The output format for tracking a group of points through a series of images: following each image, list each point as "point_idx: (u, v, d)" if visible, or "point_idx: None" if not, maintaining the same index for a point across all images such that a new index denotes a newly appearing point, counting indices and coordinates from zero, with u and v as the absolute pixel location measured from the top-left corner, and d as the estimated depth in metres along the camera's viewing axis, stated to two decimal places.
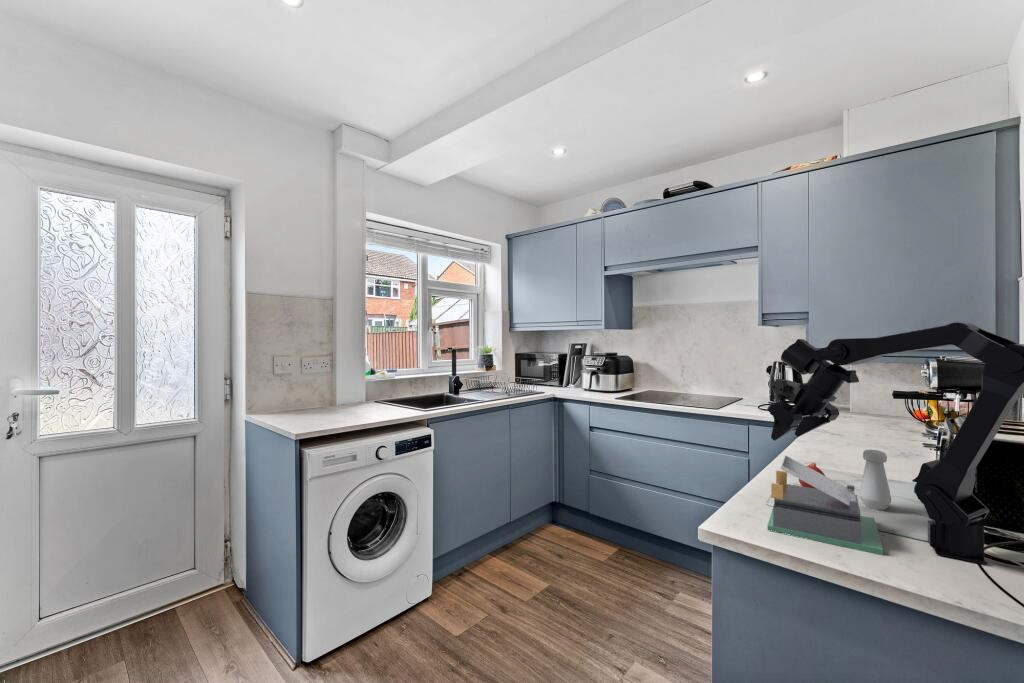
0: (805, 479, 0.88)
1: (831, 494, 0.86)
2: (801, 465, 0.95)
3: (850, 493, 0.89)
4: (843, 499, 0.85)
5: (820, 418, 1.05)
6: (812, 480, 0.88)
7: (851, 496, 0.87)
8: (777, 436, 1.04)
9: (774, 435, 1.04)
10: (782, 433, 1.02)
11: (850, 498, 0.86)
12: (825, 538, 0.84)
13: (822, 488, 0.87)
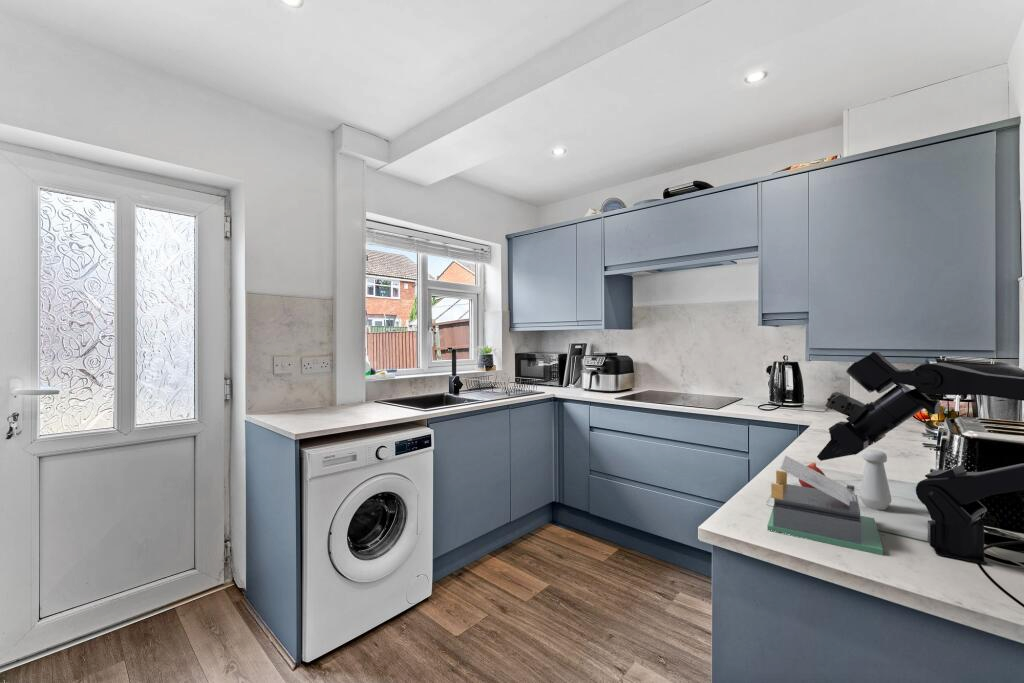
0: (805, 479, 0.88)
1: (831, 494, 0.86)
2: (801, 465, 0.95)
3: (850, 493, 0.89)
4: (843, 499, 0.85)
5: None
6: (812, 480, 0.88)
7: (851, 496, 0.87)
8: (827, 457, 0.91)
9: (823, 455, 0.92)
10: (836, 456, 0.90)
11: (850, 498, 0.86)
12: (825, 538, 0.84)
13: (822, 488, 0.87)
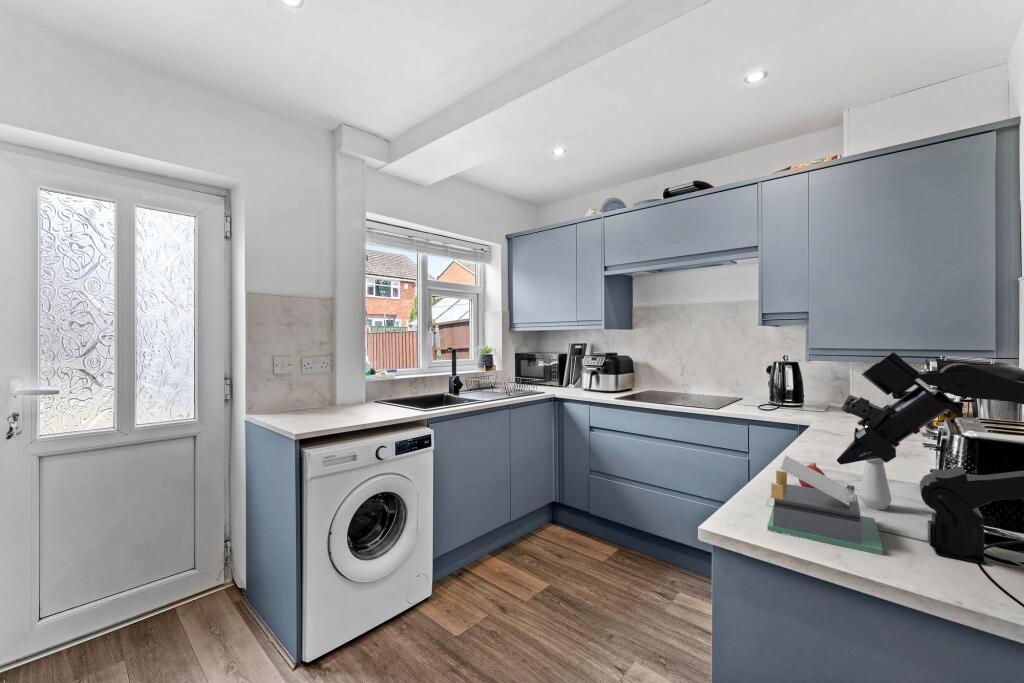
0: (805, 479, 0.88)
1: (831, 494, 0.86)
2: (801, 465, 0.95)
3: (850, 493, 0.89)
4: (843, 499, 0.85)
5: None
6: (812, 480, 0.88)
7: (851, 496, 0.87)
8: (849, 461, 0.88)
9: (844, 459, 0.89)
10: (859, 459, 0.87)
11: (850, 498, 0.86)
12: (825, 538, 0.84)
13: (822, 488, 0.87)
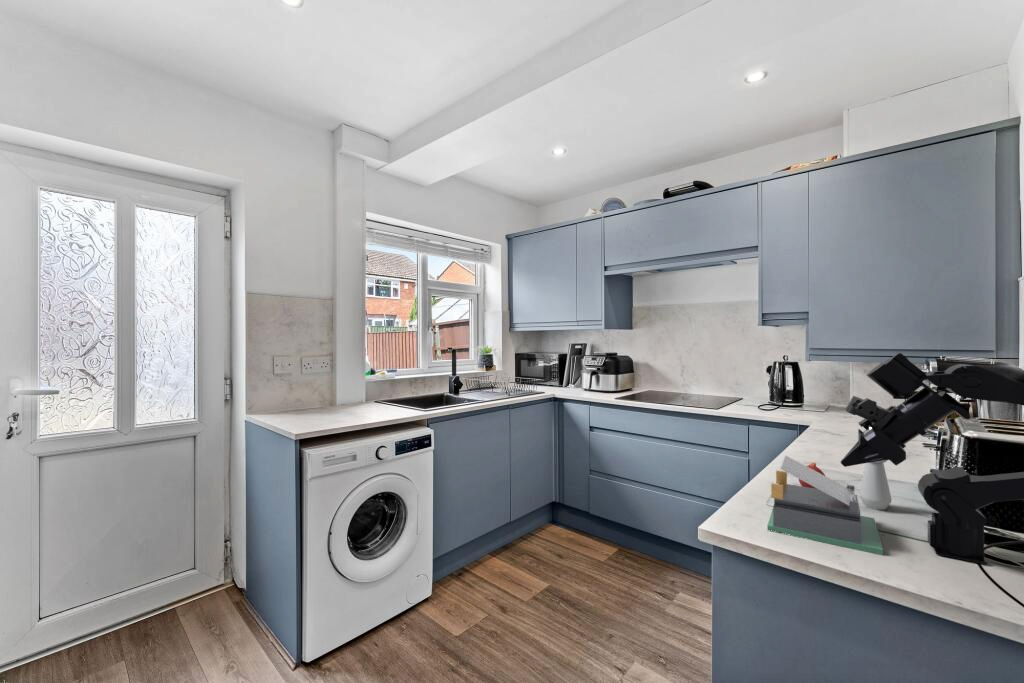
0: (805, 479, 0.88)
1: (831, 494, 0.86)
2: (801, 465, 0.95)
3: (850, 493, 0.89)
4: (843, 499, 0.85)
5: None
6: (812, 480, 0.88)
7: (851, 496, 0.87)
8: (853, 463, 0.87)
9: (848, 461, 0.88)
10: (864, 461, 0.86)
11: (850, 498, 0.86)
12: (825, 538, 0.84)
13: (822, 488, 0.87)
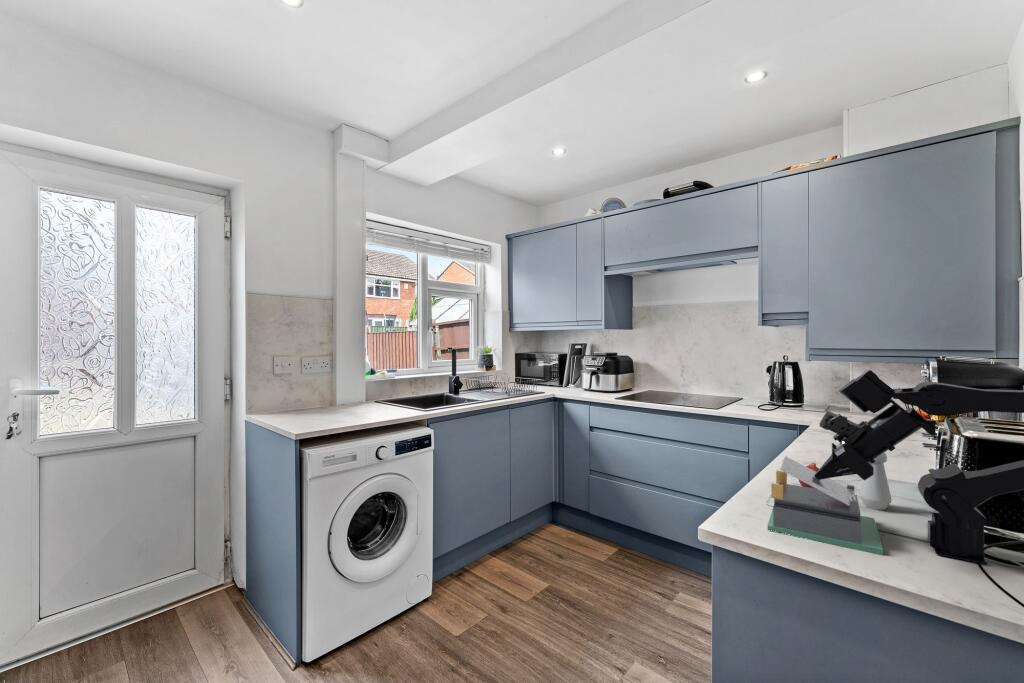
0: (805, 479, 0.88)
1: (831, 494, 0.86)
2: (801, 466, 0.96)
3: (850, 493, 0.89)
4: (843, 499, 0.85)
5: None
6: (812, 480, 0.88)
7: (851, 496, 0.87)
8: (826, 476, 0.90)
9: (821, 474, 0.90)
10: (836, 475, 0.88)
11: (850, 498, 0.86)
12: (825, 538, 0.84)
13: (822, 488, 0.87)
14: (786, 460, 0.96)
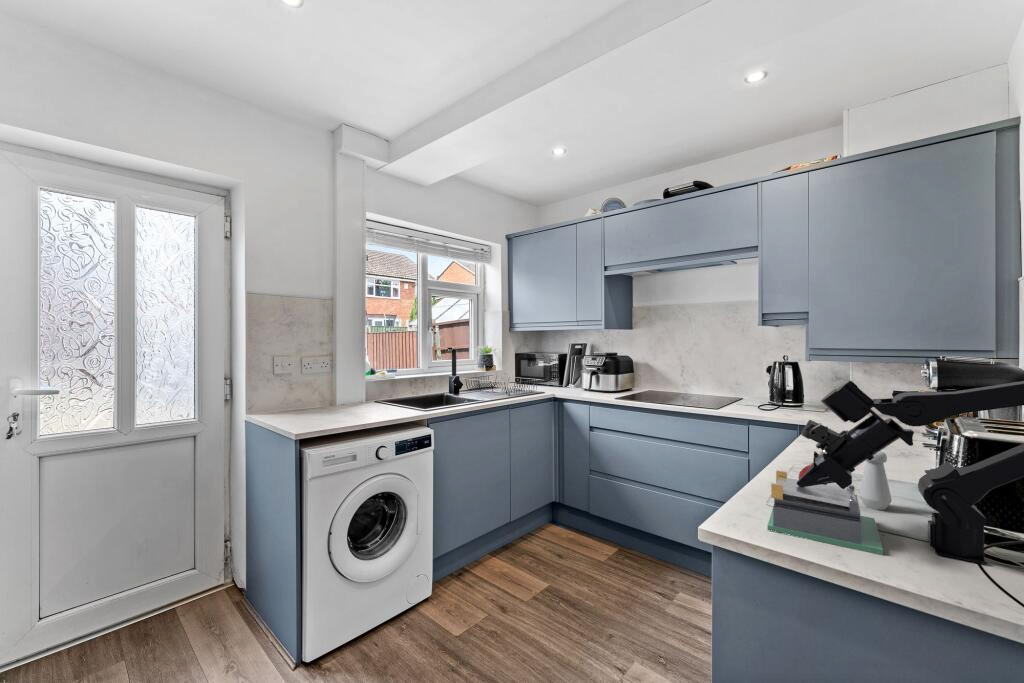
0: (800, 494, 0.89)
1: (829, 501, 0.86)
2: (795, 481, 0.96)
3: (848, 494, 0.89)
4: (842, 502, 0.85)
5: None
6: (807, 493, 0.89)
7: (850, 496, 0.87)
8: (808, 484, 0.91)
9: (803, 482, 0.92)
10: (818, 483, 0.90)
11: (849, 499, 0.86)
12: (825, 538, 0.84)
13: (819, 498, 0.87)
14: (779, 480, 0.96)
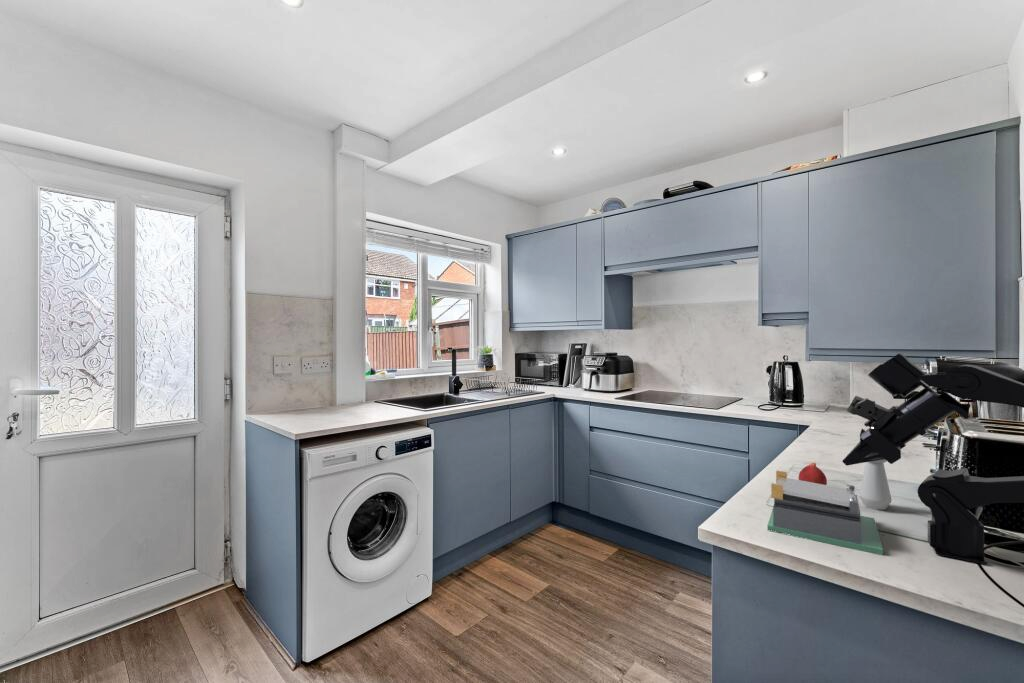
0: (800, 494, 0.89)
1: (829, 501, 0.86)
2: (795, 481, 0.96)
3: (848, 494, 0.89)
4: (842, 502, 0.85)
5: None
6: (807, 493, 0.89)
7: (850, 496, 0.87)
8: (854, 462, 0.88)
9: (849, 460, 0.89)
10: (865, 460, 0.87)
11: (849, 499, 0.86)
12: (825, 538, 0.84)
13: (819, 498, 0.87)
14: (779, 480, 0.96)
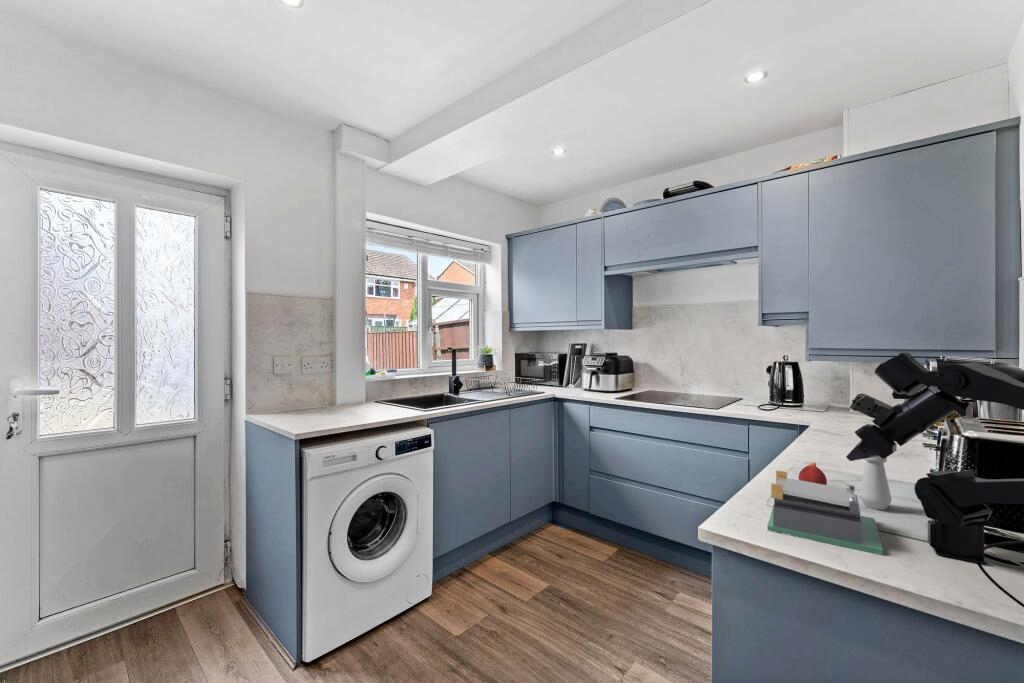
0: (800, 494, 0.89)
1: (829, 501, 0.86)
2: (795, 481, 0.96)
3: (848, 494, 0.89)
4: (842, 502, 0.85)
5: None
6: (807, 493, 0.89)
7: (850, 496, 0.87)
8: (857, 458, 0.91)
9: (853, 455, 0.91)
10: (867, 456, 0.89)
11: (849, 499, 0.86)
12: (825, 538, 0.84)
13: (819, 498, 0.87)
14: (779, 480, 0.96)
